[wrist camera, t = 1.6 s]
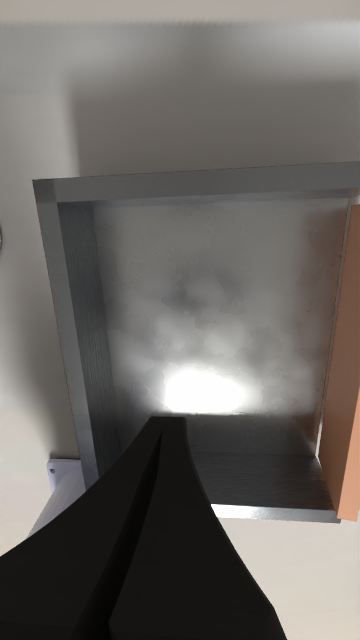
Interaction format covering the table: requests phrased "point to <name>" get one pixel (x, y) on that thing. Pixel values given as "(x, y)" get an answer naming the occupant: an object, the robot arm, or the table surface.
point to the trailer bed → (203, 320)
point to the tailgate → (345, 389)
